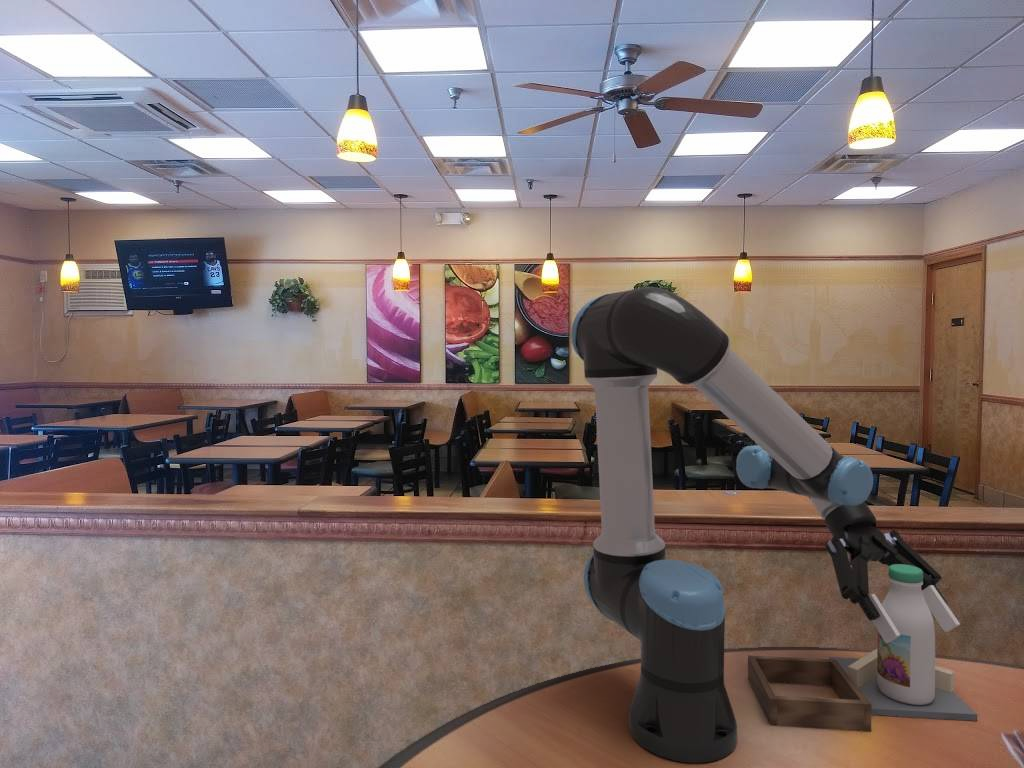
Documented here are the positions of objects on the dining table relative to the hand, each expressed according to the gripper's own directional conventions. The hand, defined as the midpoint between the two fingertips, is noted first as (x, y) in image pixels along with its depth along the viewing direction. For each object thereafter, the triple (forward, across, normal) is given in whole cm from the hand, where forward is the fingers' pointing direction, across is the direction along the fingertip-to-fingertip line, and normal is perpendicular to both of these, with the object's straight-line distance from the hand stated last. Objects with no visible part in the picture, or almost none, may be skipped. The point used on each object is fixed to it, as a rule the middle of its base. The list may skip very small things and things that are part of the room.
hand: (923, 633), depth 98 cm
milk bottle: (+6, 0, -10) cm, 11 cm away
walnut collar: (+3, +16, -13) cm, 21 cm away
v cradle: (+4, -2, -12) cm, 13 cm away
